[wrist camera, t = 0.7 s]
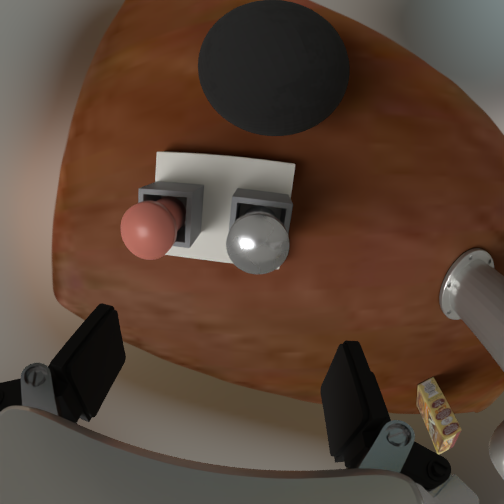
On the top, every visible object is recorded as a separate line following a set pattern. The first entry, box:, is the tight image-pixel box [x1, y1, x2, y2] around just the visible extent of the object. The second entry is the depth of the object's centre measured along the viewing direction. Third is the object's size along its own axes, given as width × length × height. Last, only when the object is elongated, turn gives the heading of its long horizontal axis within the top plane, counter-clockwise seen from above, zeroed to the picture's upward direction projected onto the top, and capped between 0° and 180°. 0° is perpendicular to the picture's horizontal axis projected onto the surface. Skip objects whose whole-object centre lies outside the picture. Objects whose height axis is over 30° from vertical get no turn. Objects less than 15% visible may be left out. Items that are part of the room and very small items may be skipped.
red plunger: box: [121, 196, 186, 260], centre depth 23 cm, size 5×5×6 cm
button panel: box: [139, 152, 295, 269], centre depth 28 cm, size 15×12×7 cm
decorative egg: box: [198, 0, 349, 136], centre depth 19 cm, size 12×12×15 cm
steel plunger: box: [226, 206, 289, 274], centre depth 23 cm, size 5×5×6 cm
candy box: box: [417, 377, 461, 455], centre depth 36 cm, size 9×4×15 cm, turn 24°
